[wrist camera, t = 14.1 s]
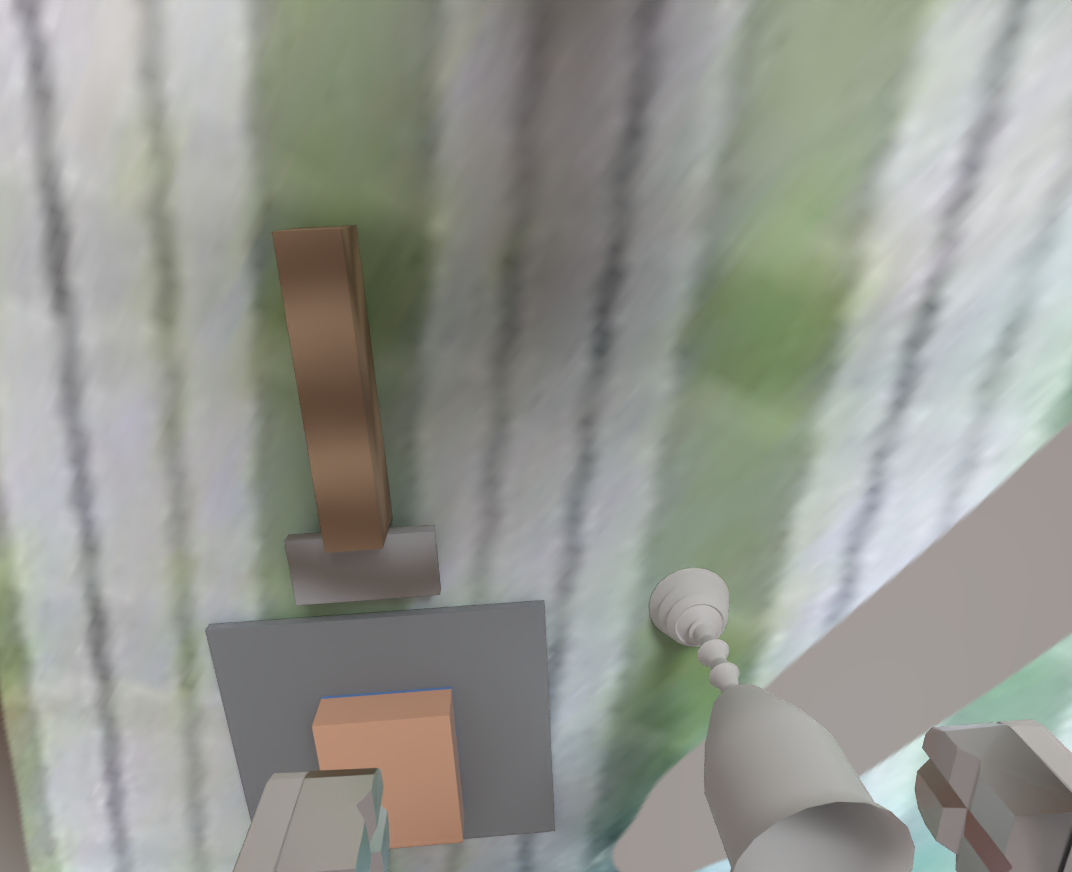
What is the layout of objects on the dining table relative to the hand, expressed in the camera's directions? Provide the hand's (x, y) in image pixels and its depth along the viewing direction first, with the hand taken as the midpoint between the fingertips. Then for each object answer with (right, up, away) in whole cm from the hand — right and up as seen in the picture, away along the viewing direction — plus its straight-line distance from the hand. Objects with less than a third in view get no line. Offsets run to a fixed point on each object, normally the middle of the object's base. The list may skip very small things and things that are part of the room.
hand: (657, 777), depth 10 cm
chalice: (+8, -5, +32) cm, 34 cm away
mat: (-11, -14, +34) cm, 38 cm away
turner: (-12, +6, +27) cm, 30 cm away
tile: (-11, -11, +31) cm, 35 cm away
